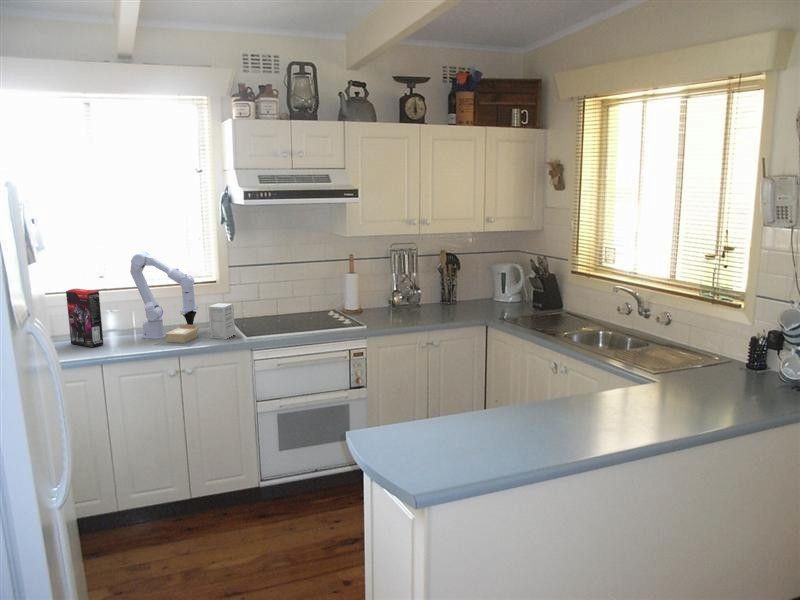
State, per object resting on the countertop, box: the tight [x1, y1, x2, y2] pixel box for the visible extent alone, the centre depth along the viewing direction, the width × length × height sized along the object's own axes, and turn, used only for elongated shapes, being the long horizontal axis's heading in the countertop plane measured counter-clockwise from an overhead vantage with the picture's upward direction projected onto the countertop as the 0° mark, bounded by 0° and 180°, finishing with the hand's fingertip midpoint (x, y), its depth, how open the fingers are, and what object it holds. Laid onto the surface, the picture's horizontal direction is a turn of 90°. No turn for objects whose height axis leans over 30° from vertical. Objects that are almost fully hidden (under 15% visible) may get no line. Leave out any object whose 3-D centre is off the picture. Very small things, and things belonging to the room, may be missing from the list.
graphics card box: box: [65, 288, 104, 348], centre depth 327 cm, size 17×7×27 cm, turn 62°
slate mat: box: [153, 334, 210, 347], centre depth 335 cm, size 19×22×1 cm
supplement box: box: [208, 302, 236, 340], centre depth 341 cm, size 10×9×17 cm
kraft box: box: [166, 331, 199, 343], centre depth 336 cm, size 9×14×4 cm, turn 169°
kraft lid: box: [165, 323, 199, 337], centre depth 335 cm, size 10×14×3 cm
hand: (190, 325), depth 343 cm, fingers closed
